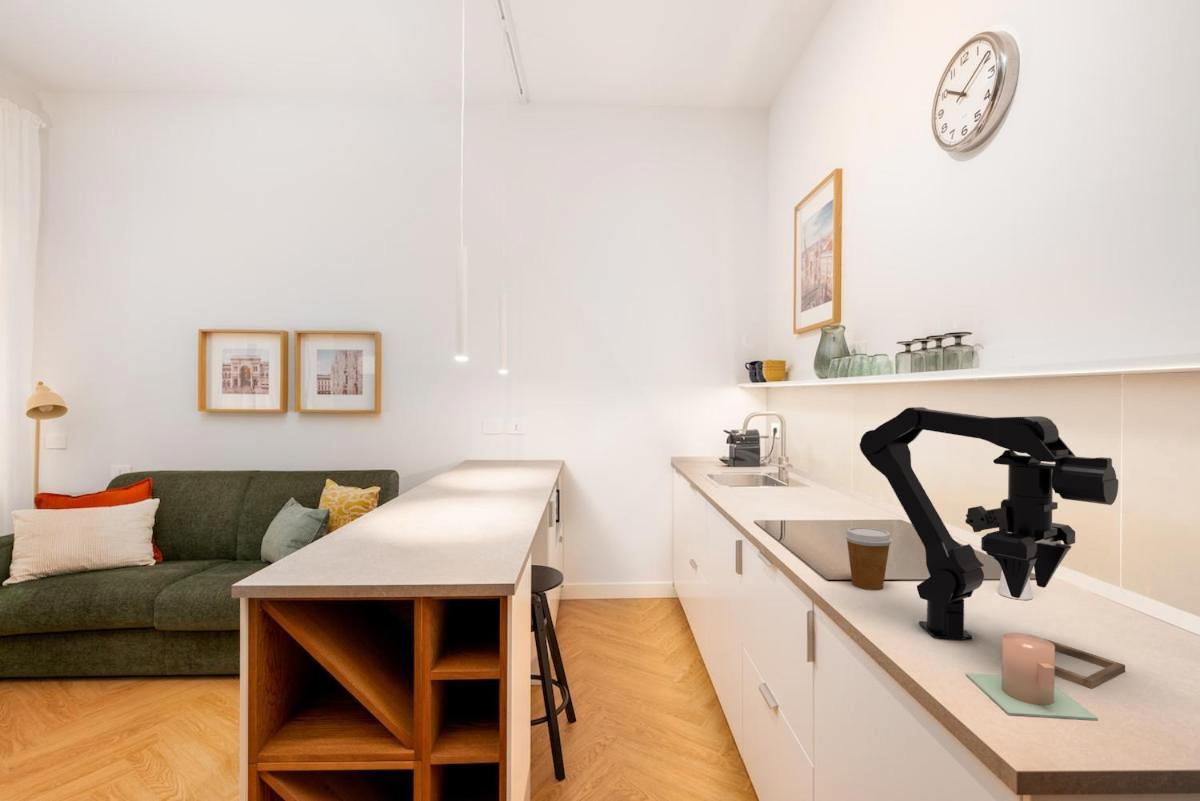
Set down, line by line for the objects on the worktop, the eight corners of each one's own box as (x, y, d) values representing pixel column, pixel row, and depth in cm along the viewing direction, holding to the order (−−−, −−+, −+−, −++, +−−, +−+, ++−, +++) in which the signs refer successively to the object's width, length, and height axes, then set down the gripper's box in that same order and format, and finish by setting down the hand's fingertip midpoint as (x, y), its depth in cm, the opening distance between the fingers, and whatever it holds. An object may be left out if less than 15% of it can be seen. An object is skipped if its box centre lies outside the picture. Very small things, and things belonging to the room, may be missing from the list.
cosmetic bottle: (991, 592, 125) (992, 490, 125) (1009, 588, 128) (1010, 488, 127) (1021, 601, 120) (1022, 495, 119) (1039, 597, 122) (1040, 493, 122)
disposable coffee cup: (877, 578, 135) (878, 526, 135) (900, 592, 125) (900, 536, 125) (837, 578, 135) (837, 526, 134) (856, 592, 125) (857, 537, 125)
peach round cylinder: (992, 682, 86) (993, 631, 86) (1035, 684, 85) (1035, 633, 85) (1025, 710, 78) (1026, 654, 78) (1072, 711, 78) (1073, 655, 78)
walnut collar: (1008, 658, 94) (1008, 652, 94) (1043, 644, 100) (1043, 638, 100) (1091, 688, 85) (1091, 681, 85) (1125, 671, 90) (1125, 664, 90)
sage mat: (965, 675, 89) (965, 673, 89) (1043, 679, 87) (1043, 677, 87) (1008, 715, 78) (1008, 712, 78) (1098, 720, 76) (1098, 718, 76)
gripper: (1001, 483, 105) (1000, 569, 105) (946, 492, 95) (945, 588, 95) (1077, 492, 96) (1075, 587, 96) (1025, 503, 86) (1024, 609, 86)
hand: (1028, 591), depth 94 cm, fingers open, 9 cm apart
